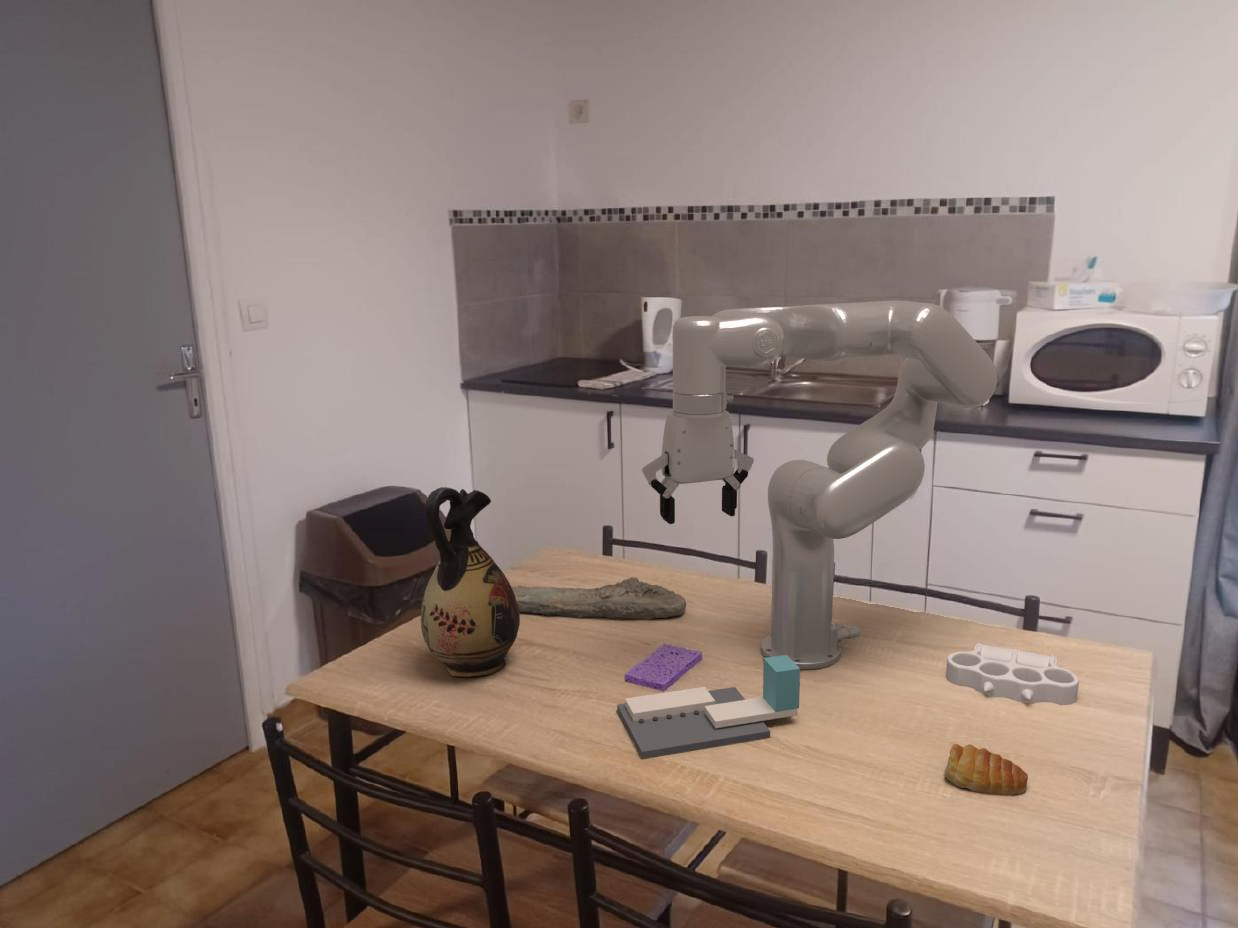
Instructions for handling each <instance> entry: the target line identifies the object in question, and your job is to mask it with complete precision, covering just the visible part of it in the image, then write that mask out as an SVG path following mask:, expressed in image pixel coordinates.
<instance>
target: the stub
mask: <svg viewBox="0 0 1238 928" xmlns="http://www.w3.org/2000/svg"><path fill="white" fill-rule="evenodd" d="M762 664H763V667H762V668H763V670H762V671H763V672H762V675H763V676H762V697H761V696H760V697H753V698H749V699H745V700H741V701H734V702H728V703H721V704H715V705H708V706H704V708H705V714H706V715H707V717H708V718H709V720H710V721H711V723H712V724H713V725H714V727H715V728H720V727H727V726H733V725H739V724H745V723H752V722H758V721H763V722H764V721H770V720H776V719H780V718H788V717H793V716H798V709H800V690H801V688H800V687H801V686H800V684H801V683H800V682H801V669H800V668H799V667H798V666H797V665H796V664H795V663H794V662H793V661H792V660H791V659H790V658H789V657H788V656H787V655H782V656H775V657H768V658H766V657H764V658H763V663H762Z"/></svg>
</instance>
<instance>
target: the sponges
mask: <svg viewBox="0 0 1238 928" xmlns="http://www.w3.org/2000/svg"><path fill="white" fill-rule="evenodd" d="M701 661H703V651H701V650H697V649H696V650H695V649H691V648H688V649H686V647H682V646H676V645H673V644H670V643H669V644H668V643H666V642H665V643H664V642H663V644H662V645H661V646H659V647H658V648H657V649H656V650H655V651H654V652H651V653H650V654H649V655H648V656H647V657H645V658H644V659H642V660H641V661H640V662H638V663H637V664H635V665H634V666H632V668H630V669H629V670H627V671H626V672H625V673H624V680H626V682H627V683H629V684H633V685H637V686H642V687H646V688H650V689H653V690H657V691H659V692H665V691H667V690H668V689H669V688H670V687H671V686H672V685H673V684H674V683H676V682H677V681H678V680H679V679H681V678H682V677H683V676H685V674H686V673H688V672H689V671H690V670H691V669H693V668H694V667H695V666H696V665H698V664H699V663H700V662H701Z"/></svg>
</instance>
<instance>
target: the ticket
mask: <svg viewBox="0 0 1238 928" xmlns="http://www.w3.org/2000/svg"><path fill="white" fill-rule="evenodd" d="M708 691H709V690H708V689H707V688H706V687H705V686H699V687H694V688H688V689H681V690H676V691H673V690H672V691H667V692H660V693H654V694H646V695H640V696H634V697H628V698H624V703H625V707H626V708H627V710H628V712H629V714H630V716H631V718H632V720H633V721H639V723H641V724H642V723H644V720H646V719H652V718H653V721H658V717H665V716H667V719H671V718H672V715H678V714H680V716H681V717H685V713H691V712H694V714H695V715H698V714H699V711H704V710H705V708H704V706H708V705H715V700H714V698H713V697H712V696H711V694H710V693H709V692H708Z"/></svg>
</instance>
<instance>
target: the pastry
mask: <svg viewBox="0 0 1238 928" xmlns="http://www.w3.org/2000/svg"><path fill="white" fill-rule="evenodd" d="M943 775H944V778H946V779H947V780H948V781H950V783H952V784H953V785H954V786H956V787H959V788H960V789H962V788H965V789H968V790H970V791H971V792H975V793H976V792H977V793H986V794H989V795H990V794H991V795H1000V796H1001V795H1003V796H1012V795H1021V794H1023V793H1024V792H1025V791H1026V790H1027V788H1028V780H1029V774H1028V772H1025V771H1024V770H1023V769H1022V768H1021V767H1020V766H1019V765H1017V764H1016V763H1013V761H1012V760H1010V759H1008V758H1003V757H1002V756H1001V755H1000V754H998V753H993V752H991V751H990V750H988V749H987V748H986V747H981V748H977V747H976V746H975V745H973V744H967V745H964V746H962V745H960V744H958V743H953V744H952V746H951V748H950V751H949V756H948V760H947V764H946V769H945V771H944V774H943Z"/></svg>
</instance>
